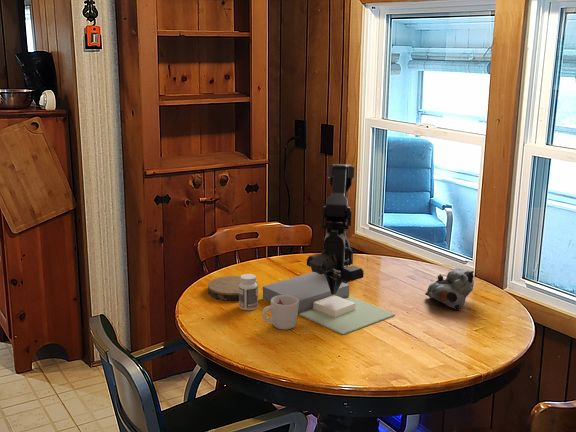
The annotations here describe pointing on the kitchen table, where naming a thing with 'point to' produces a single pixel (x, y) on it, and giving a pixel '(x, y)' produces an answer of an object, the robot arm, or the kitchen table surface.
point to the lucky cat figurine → (452, 288)
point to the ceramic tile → (334, 305)
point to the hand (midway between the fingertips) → (333, 294)
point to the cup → (282, 311)
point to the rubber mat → (349, 317)
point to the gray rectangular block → (304, 290)
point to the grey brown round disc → (225, 288)
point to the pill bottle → (248, 292)
